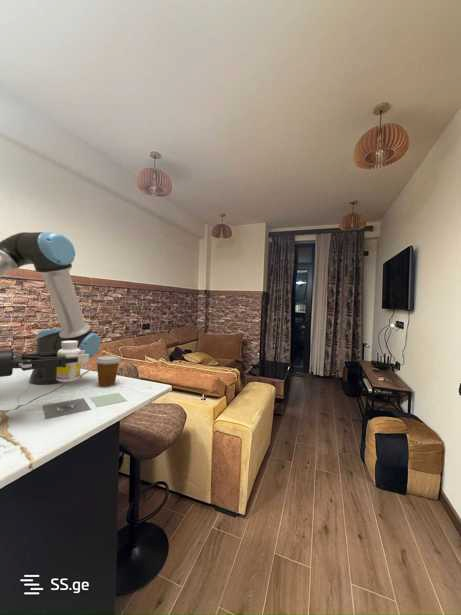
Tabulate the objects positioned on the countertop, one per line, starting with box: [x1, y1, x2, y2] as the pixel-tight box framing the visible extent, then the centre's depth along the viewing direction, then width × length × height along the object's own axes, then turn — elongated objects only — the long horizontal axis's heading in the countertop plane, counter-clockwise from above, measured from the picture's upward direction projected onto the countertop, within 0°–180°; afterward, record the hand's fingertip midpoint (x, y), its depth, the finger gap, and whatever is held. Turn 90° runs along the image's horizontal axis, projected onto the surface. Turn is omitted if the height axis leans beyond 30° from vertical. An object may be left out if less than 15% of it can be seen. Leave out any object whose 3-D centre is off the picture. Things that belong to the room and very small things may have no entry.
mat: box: [90, 392, 128, 408], centre depth 89 cm, size 10×10×1 cm
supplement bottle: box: [56, 341, 82, 383], centre depth 80 cm, size 7×7×13 cm
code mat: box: [42, 397, 92, 420], centre depth 80 cm, size 12×12×1 cm
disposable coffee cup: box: [95, 355, 121, 388], centre depth 105 cm, size 10×10×12 cm
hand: (86, 356), depth 84 cm, fingers closed on supplement bottle, 7 cm apart
